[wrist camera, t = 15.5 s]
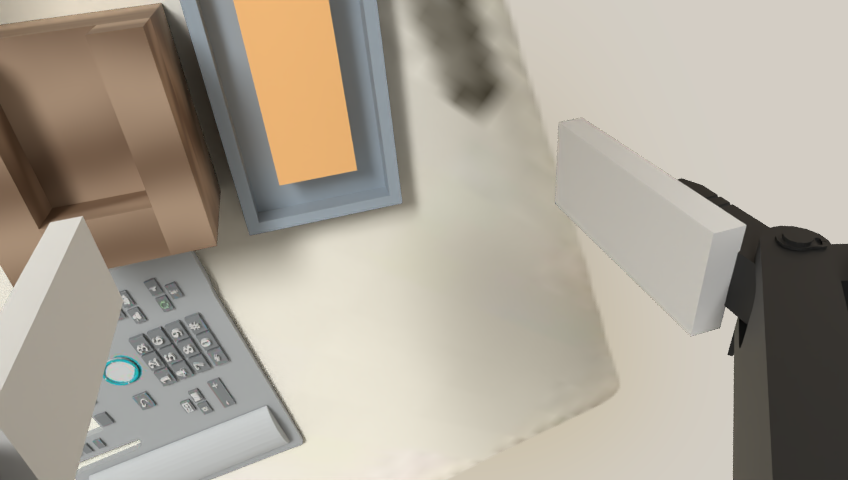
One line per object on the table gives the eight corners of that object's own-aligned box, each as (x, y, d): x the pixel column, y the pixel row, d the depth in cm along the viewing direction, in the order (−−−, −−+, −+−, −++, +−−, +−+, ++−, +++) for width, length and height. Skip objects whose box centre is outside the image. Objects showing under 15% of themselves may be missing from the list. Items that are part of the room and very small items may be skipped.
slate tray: (124, -210, 28) (114, -219, 26) (339, -225, 30) (347, -234, 27) (249, 218, 40) (249, 235, 38) (394, 188, 42) (402, 203, 40)
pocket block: (-45, 31, 30) (-119, 63, 24) (161, 2, 32) (142, 26, 26) (52, 223, 37) (14, 288, 31) (220, 190, 39) (216, 245, 33)
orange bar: (207, -110, 30) (205, -111, 28) (303, -120, 31) (308, -121, 28) (277, 170, 38) (279, 185, 36) (350, 156, 39) (357, 170, 37)
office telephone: (308, 454, 51) (88, 544, 49) (305, 431, 53) (94, 516, 51) (183, 253, 38) (-123, 365, 36) (186, 233, 40) (-103, 338, 38)
